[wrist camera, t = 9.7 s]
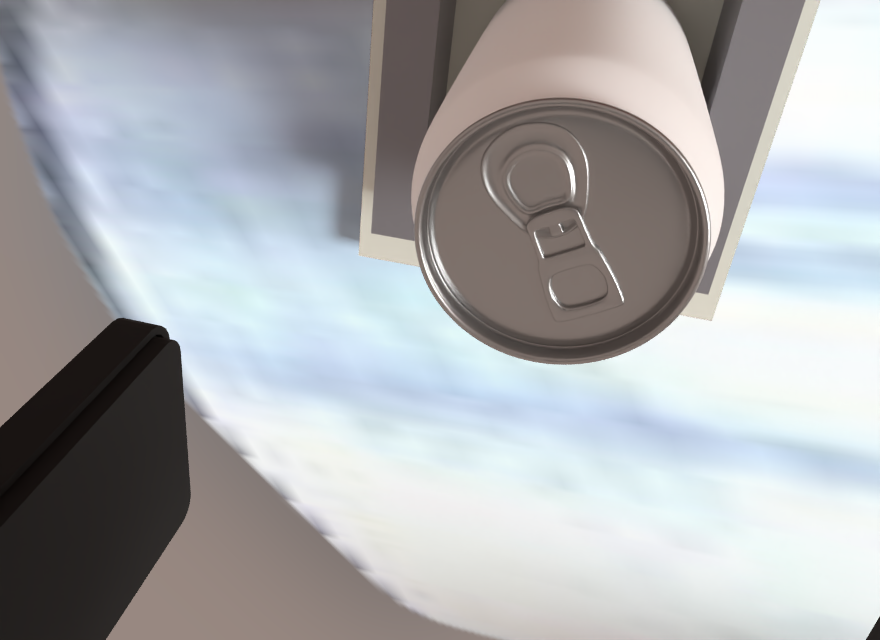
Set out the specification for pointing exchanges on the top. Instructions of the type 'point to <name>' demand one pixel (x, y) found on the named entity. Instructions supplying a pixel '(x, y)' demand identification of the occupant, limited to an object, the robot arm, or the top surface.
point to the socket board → (455, 36)
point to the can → (570, 181)
